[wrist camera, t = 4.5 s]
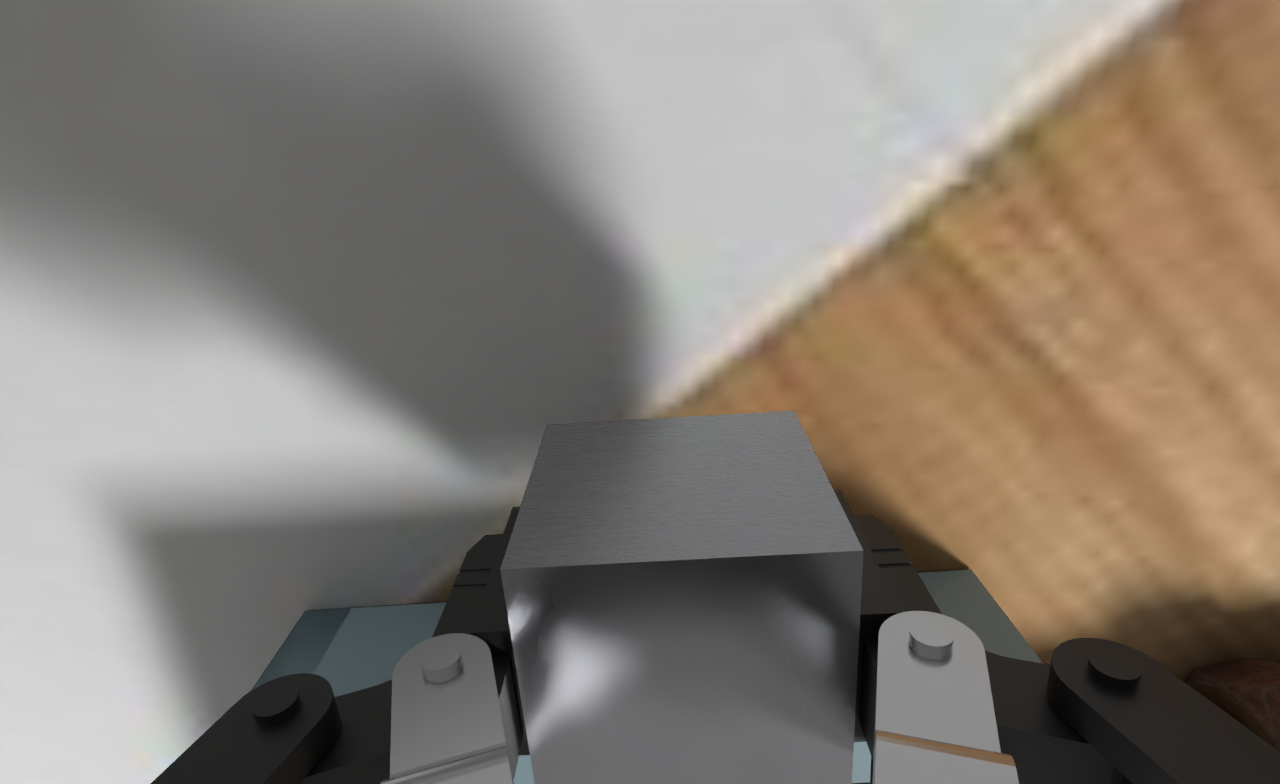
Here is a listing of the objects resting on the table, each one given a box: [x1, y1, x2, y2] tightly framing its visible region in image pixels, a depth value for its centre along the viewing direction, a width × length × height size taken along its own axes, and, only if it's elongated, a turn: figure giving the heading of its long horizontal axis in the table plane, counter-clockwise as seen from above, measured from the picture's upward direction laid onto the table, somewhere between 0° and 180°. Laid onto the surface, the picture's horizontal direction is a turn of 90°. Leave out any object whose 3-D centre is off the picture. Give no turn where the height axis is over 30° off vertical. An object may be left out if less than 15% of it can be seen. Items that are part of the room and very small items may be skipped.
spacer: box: [500, 411, 863, 784], centre depth 12 cm, size 4×4×4 cm
